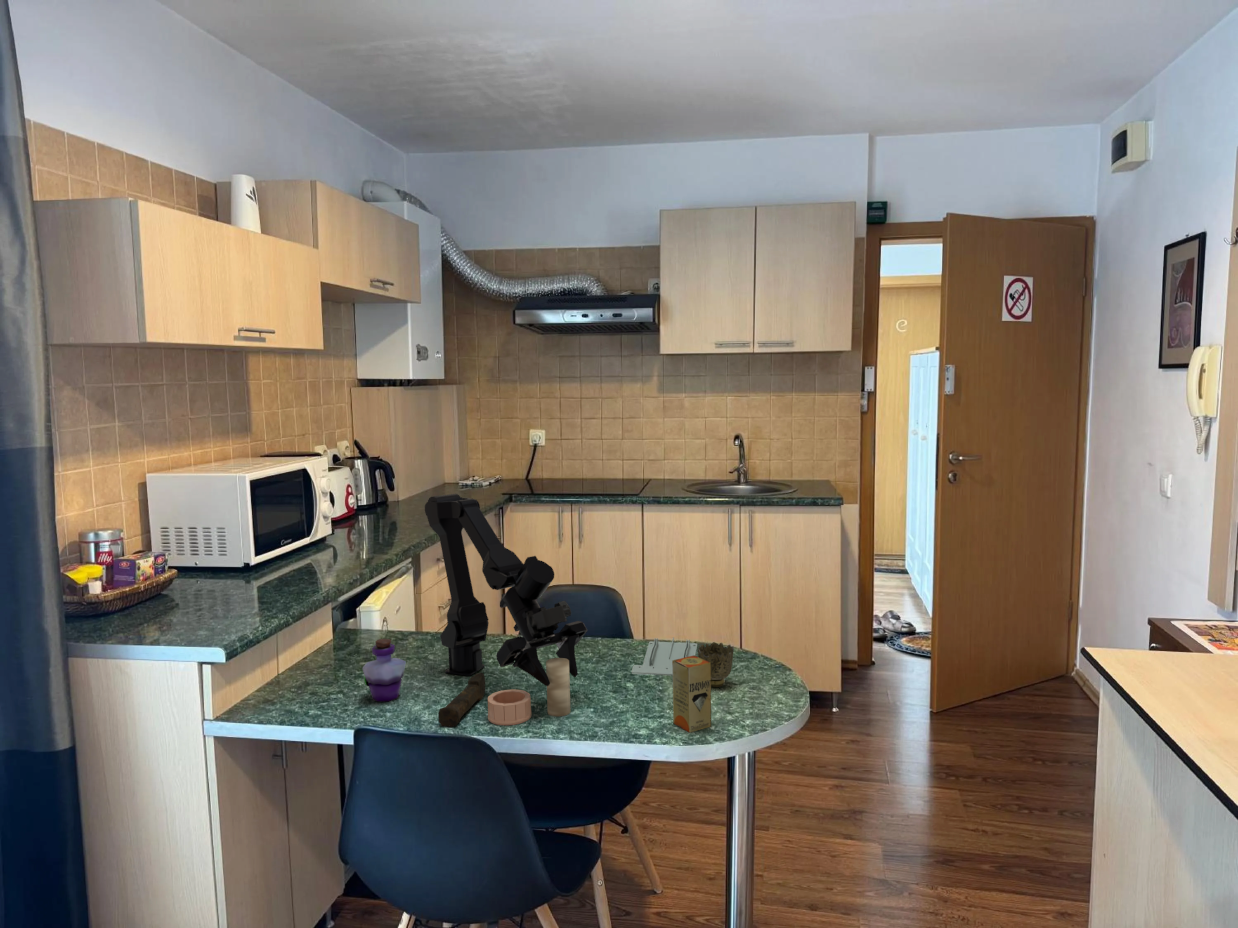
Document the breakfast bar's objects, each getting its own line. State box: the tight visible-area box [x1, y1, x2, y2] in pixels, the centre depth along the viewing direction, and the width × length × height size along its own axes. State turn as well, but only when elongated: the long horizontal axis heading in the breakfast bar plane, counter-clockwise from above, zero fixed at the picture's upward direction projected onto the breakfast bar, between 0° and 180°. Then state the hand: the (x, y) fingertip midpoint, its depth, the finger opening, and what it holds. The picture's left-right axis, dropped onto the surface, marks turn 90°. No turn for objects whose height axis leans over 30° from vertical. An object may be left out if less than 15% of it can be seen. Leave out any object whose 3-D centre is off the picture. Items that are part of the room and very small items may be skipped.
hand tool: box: [437, 672, 486, 728], centre depth 166 cm, size 19×4×5 cm, turn 166°
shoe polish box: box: [672, 655, 712, 733], centre depth 155 cm, size 5×5×12 cm
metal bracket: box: [631, 637, 698, 677], centre depth 188 cm, size 14×6×15 cm
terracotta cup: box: [487, 688, 532, 726], centre depth 161 cm, size 8×8×4 cm
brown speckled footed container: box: [697, 641, 735, 688], centre depth 175 cm, size 8×7×8 cm
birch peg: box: [545, 657, 572, 718], centre depth 162 cm, size 4×4×10 cm
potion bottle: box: [362, 638, 407, 703], centre depth 172 cm, size 9×9×12 cm
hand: (562, 680), depth 161 cm, fingers open, 6 cm apart
